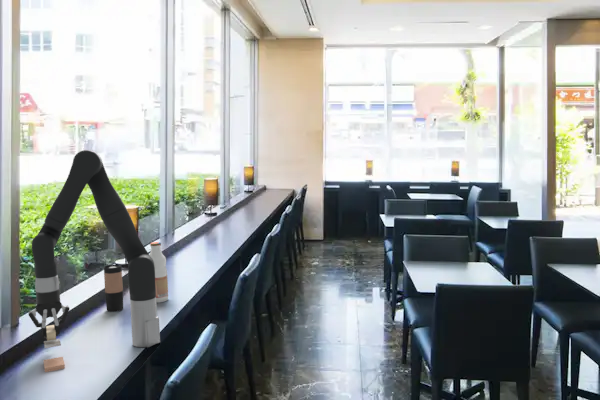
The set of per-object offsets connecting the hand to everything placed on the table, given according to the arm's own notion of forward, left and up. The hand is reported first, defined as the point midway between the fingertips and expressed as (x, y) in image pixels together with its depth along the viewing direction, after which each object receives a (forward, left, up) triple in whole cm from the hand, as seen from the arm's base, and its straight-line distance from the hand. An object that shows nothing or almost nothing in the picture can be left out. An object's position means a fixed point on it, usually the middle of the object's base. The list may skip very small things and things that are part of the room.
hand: (50, 336), depth 190 cm
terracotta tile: (-7, +4, -6) cm, 10 cm away
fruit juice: (+16, -68, -7) cm, 70 cm away
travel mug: (+23, -48, -7) cm, 54 cm away
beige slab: (-2, +1, -1) cm, 2 cm away
